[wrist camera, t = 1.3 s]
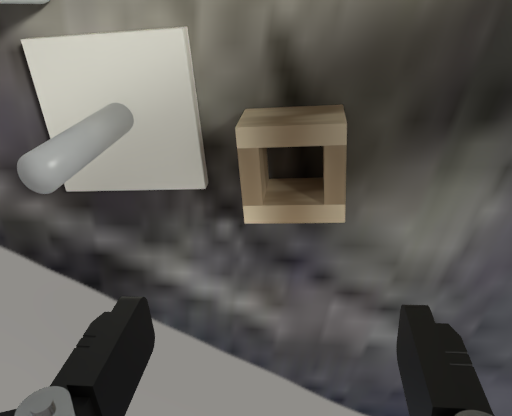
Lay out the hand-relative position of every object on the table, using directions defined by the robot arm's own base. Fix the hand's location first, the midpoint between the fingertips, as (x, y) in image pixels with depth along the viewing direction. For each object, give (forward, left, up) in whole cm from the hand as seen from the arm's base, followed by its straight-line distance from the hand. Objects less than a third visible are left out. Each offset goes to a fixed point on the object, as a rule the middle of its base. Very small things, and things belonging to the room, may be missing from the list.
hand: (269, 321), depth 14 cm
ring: (0, 0, -16) cm, 16 cm away
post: (+11, -3, -16) cm, 20 cm away
